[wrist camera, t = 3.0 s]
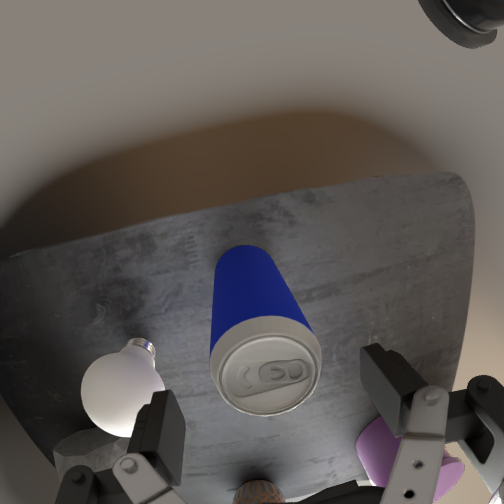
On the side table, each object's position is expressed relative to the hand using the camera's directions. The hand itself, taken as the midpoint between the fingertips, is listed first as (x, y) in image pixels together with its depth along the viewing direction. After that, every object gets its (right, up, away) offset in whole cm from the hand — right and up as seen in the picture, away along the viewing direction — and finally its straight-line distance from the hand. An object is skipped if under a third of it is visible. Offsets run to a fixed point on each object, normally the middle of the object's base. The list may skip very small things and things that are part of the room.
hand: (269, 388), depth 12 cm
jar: (+18, -19, +23) cm, 34 cm away
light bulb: (-11, -3, +16) cm, 20 cm away
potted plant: (-17, -19, +20) cm, 32 cm away
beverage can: (-1, +4, +15) cm, 16 cm away
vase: (0, -27, +23) cm, 35 cm away
